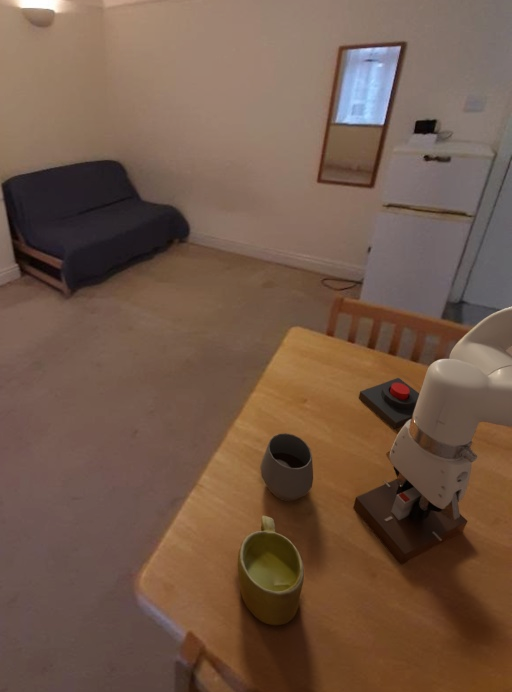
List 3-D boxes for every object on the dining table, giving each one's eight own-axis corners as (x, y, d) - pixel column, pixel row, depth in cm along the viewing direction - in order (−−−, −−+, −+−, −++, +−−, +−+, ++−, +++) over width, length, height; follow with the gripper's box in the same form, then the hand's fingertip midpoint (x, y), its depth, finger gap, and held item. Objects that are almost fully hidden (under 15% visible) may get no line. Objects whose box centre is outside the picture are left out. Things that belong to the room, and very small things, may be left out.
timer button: (398, 386, 94) (399, 380, 94) (411, 397, 91) (413, 391, 91) (386, 390, 93) (387, 385, 93) (399, 401, 90) (401, 395, 90)
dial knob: (421, 497, 71) (427, 479, 69) (429, 505, 70) (436, 487, 68) (390, 511, 69) (397, 493, 67) (398, 520, 68) (405, 502, 66)
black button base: (396, 384, 100) (400, 371, 98) (434, 413, 91) (439, 400, 90) (358, 398, 96) (361, 385, 95) (394, 430, 88) (398, 416, 86)
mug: (311, 650, 55) (296, 587, 53) (238, 630, 59) (222, 572, 58) (316, 567, 65) (303, 514, 64) (253, 556, 70) (241, 506, 69)
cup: (257, 502, 75) (261, 466, 71) (260, 459, 83) (264, 424, 79) (311, 516, 72) (319, 479, 68) (309, 470, 80) (316, 435, 76)
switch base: (407, 478, 78) (411, 467, 77) (466, 535, 68) (471, 523, 67) (350, 504, 74) (353, 493, 72) (404, 569, 64) (408, 557, 63)
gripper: (512, 469, 56) (472, 546, 64) (410, 391, 70) (387, 463, 78) (474, 488, 54) (438, 566, 62) (376, 403, 68) (357, 476, 76)
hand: (410, 508), depth 70 cm, fingers closed
